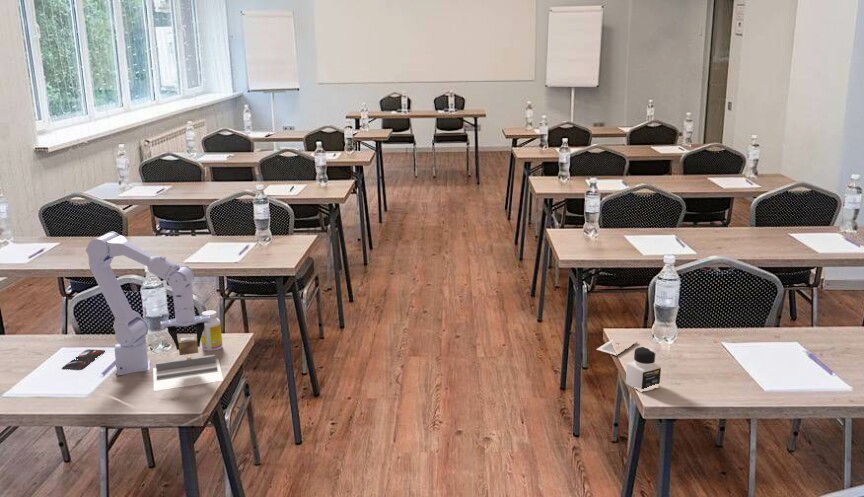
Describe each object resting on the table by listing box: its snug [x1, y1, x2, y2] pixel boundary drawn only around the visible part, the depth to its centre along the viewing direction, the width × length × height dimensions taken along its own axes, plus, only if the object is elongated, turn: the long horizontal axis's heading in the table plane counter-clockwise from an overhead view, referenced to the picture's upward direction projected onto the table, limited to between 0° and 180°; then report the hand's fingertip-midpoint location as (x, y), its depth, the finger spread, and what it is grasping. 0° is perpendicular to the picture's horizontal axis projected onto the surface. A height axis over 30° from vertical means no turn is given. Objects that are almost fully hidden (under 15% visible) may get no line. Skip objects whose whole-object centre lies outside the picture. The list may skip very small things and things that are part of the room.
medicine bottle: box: [625, 346, 662, 389], centre depth 224 cm, size 7×7×12 cm
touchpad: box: [596, 338, 620, 356], centre depth 253 cm, size 8×15×2 cm, turn 139°
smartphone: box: [61, 349, 106, 371], centre depth 244 cm, size 7×1×15 cm
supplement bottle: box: [200, 309, 223, 351], centre depth 251 cm, size 7×7×13 cm
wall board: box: [152, 354, 224, 392], centre depth 232 cm, size 20×17×4 cm
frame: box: [177, 335, 199, 356], centre depth 233 cm, size 6×4×4 cm
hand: (188, 347), depth 233 cm, fingers closed on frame, 5 cm apart
